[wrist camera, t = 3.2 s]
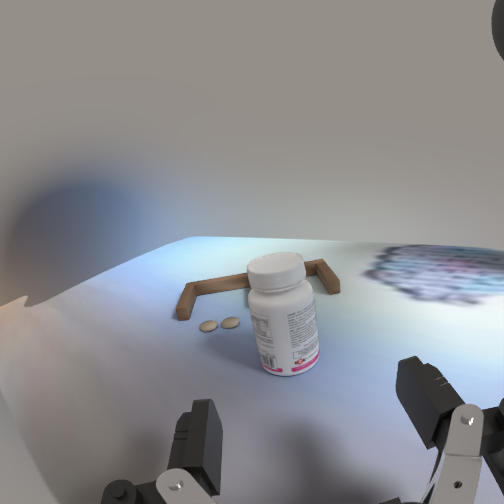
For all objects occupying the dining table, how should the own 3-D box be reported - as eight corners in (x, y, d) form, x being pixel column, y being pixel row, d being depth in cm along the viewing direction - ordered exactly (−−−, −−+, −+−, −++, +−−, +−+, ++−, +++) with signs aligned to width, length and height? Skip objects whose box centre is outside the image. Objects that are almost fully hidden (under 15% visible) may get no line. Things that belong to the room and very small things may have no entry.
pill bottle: (318, 339, 26) (308, 246, 23) (321, 374, 21) (311, 269, 19) (264, 345, 26) (246, 254, 24) (258, 380, 22) (235, 278, 20)
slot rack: (323, 269, 41) (322, 258, 40) (349, 305, 30) (348, 292, 30) (189, 293, 41) (186, 283, 40) (173, 336, 30) (169, 324, 30)
